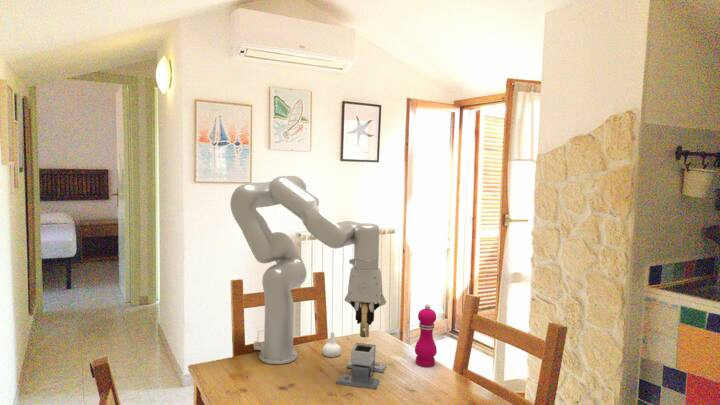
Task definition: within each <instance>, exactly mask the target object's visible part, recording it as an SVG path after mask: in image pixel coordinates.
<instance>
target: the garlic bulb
mask: <svg viewBox="0 0 720 405" xmlns="http://www.w3.org/2000/svg"><path fill="white" fill-rule="evenodd" d="M341 353H342V349H341V345H339V344H337V342H336V338H335V332H334V331H331V332H330V337H329V341H328V343H326V344H325V345H324V346H323V347H322V355H323V356H325V357H328V358H337V357H339V356H340V355H341Z"/></svg>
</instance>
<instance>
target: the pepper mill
mask: <svg viewBox="0 0 720 405" xmlns="http://www.w3.org/2000/svg"><path fill="white" fill-rule="evenodd" d="M417 319H418V321H419V323H418V324H419V325H418V327H419V330H420V333H419V334H420V335H419V338H418V339H417V342H416V344H415V347H414V352H415V353H414V354H415V355H416V356H415V364H416V365H418V366H419V367H424V368H428V367H429V368H430V367H433V366H434V365H436V364H435V363H436V362H435V361H436V359H435V356H436V355H437V350H438V349H437V345H436V342H435V341H434V337H433V332H434V329H435V322H436V321H437V313H436V312H435V310H433V309H432V308H431V305H430V304H428V303H427V304H425V305H424V308H421V310H419V312H418V314H417Z"/></svg>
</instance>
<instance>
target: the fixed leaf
mask: <svg viewBox="0 0 720 405" xmlns="http://www.w3.org/2000/svg"><path fill="white" fill-rule="evenodd" d="M373 369H374V361H373V363H372V365H371V366H364V365H356V364H352V368H351V371H350V372H351V373H350V374H344V373H340V374H339V376H338V377H337V380H336V385H342V386H348V387H356V388H364V389H371V390H377V388H378V386H379V384H380V378H375V377H373V374H374V371H373Z"/></svg>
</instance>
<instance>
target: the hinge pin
mask: <svg viewBox="0 0 720 405" xmlns="http://www.w3.org/2000/svg"><path fill="white" fill-rule="evenodd" d="M369 310H370V303H365V302H361V305H360V323H359V336H360V338H368V337H369V336H370V325H369V324H368V312H369Z"/></svg>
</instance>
